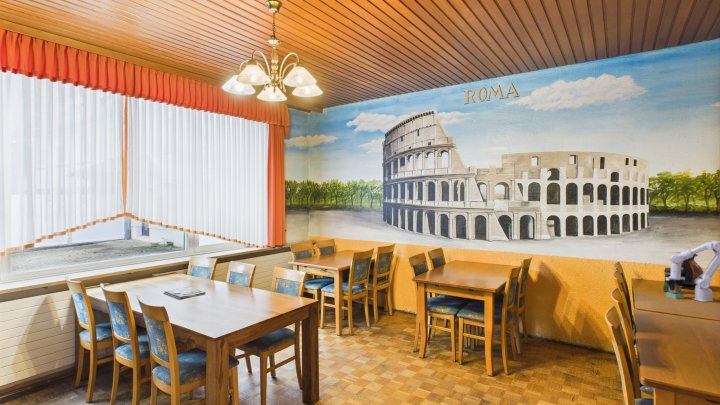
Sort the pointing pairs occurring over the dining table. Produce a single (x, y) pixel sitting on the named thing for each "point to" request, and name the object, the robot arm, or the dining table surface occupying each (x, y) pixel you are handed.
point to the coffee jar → (667, 274)
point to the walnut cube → (676, 289)
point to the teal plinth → (675, 295)
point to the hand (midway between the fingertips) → (675, 289)
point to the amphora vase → (690, 272)
